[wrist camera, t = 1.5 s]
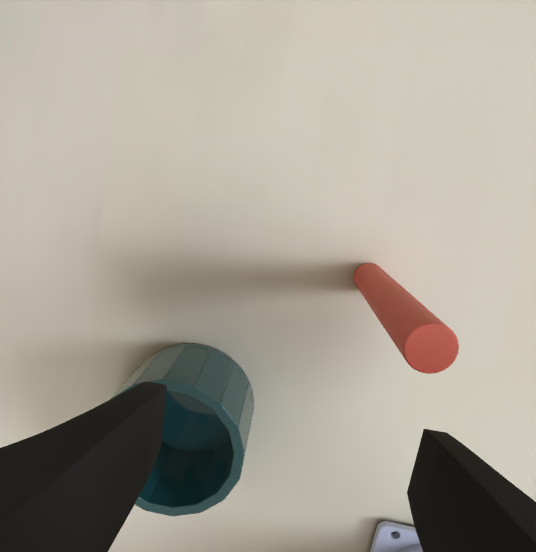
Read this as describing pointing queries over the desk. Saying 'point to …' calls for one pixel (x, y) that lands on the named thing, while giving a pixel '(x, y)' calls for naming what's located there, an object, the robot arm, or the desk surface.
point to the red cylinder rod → (407, 321)
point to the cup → (196, 428)
